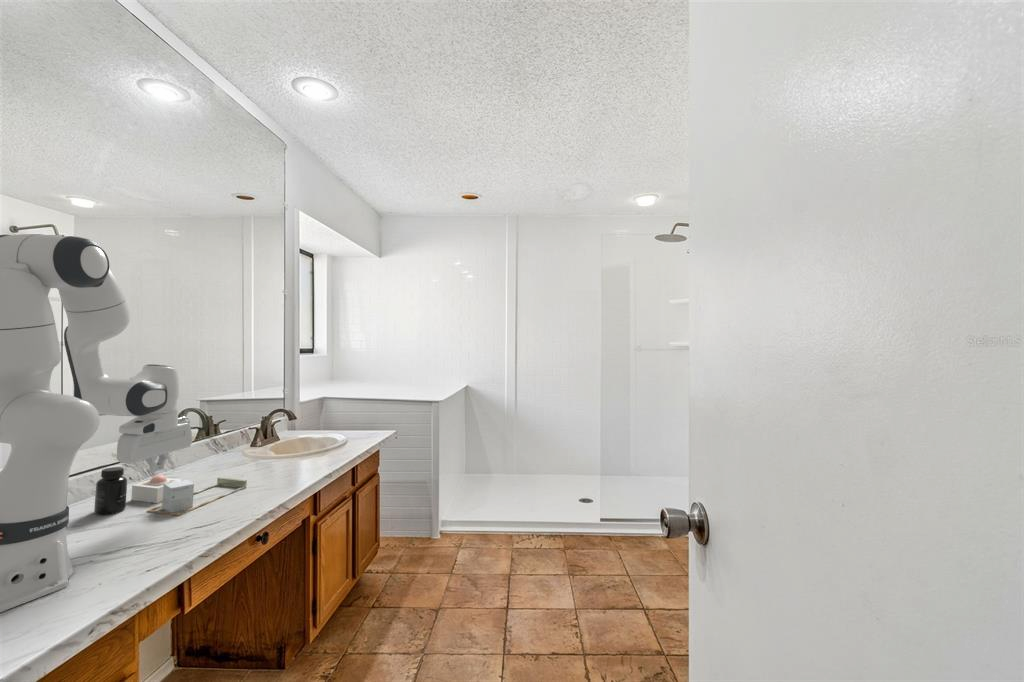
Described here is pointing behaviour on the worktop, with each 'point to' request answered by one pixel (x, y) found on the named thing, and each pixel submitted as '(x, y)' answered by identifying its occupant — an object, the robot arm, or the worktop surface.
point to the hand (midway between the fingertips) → (156, 470)
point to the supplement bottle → (111, 491)
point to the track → (220, 481)
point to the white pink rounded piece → (158, 481)
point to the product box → (177, 496)
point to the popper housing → (149, 492)
